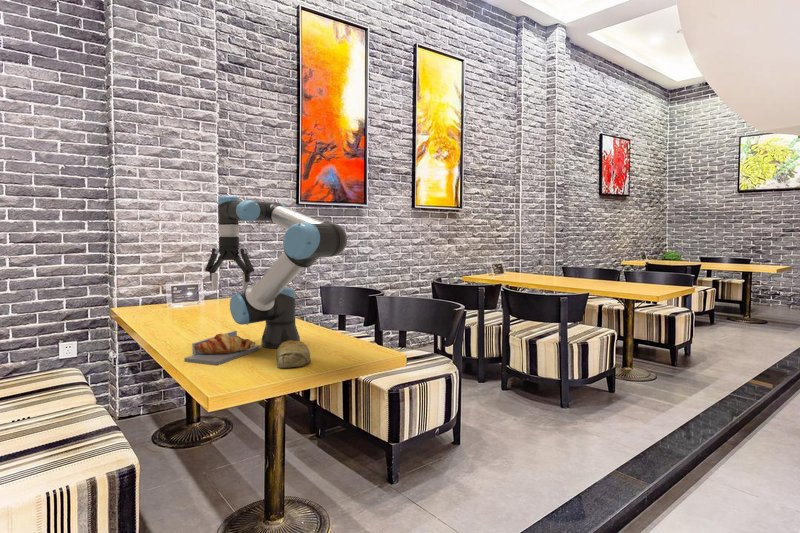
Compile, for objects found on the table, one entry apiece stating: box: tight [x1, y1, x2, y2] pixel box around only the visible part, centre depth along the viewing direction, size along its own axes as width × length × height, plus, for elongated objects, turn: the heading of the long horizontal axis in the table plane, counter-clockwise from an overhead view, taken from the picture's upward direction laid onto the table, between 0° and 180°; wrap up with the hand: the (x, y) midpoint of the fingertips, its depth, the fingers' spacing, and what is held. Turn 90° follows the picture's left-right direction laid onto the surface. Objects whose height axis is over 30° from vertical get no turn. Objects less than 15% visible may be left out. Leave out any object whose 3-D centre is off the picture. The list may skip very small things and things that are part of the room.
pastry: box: [275, 340, 311, 369], centre depth 170 cm, size 14×12×8 cm
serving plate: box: [183, 345, 261, 366], centre depth 181 cm, size 14×24×1 cm, turn 161°
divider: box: [191, 330, 238, 355], centre depth 193 cm, size 1×24×4 cm, turn 161°
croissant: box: [194, 333, 256, 354], centre depth 181 cm, size 21×10×8 cm, turn 115°
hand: (230, 290), depth 195 cm, fingers open, 13 cm apart
